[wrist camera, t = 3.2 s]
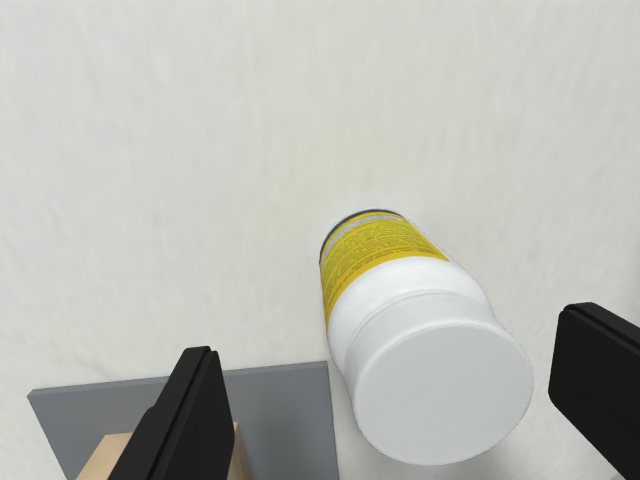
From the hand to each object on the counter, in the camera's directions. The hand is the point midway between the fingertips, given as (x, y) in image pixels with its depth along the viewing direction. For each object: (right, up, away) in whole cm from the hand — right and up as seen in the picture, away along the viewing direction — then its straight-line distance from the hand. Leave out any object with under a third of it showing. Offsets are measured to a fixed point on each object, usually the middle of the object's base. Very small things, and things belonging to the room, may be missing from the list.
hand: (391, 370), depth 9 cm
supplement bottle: (0, +3, +6) cm, 7 cm away
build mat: (-9, -8, +9) cm, 15 cm away
